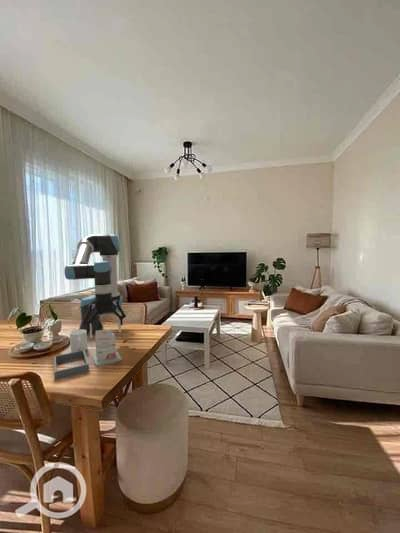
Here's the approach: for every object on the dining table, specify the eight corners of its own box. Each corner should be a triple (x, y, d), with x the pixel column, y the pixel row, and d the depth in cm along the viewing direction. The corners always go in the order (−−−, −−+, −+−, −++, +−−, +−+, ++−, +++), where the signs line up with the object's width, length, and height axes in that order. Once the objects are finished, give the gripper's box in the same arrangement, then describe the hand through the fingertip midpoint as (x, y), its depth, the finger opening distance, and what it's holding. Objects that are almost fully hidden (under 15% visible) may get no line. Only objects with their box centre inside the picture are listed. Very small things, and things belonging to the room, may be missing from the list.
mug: (88, 353, 132) (87, 334, 131) (71, 357, 128) (70, 337, 127) (86, 346, 142) (85, 328, 141) (70, 349, 138) (69, 331, 137)
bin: (54, 363, 122) (54, 356, 121) (84, 356, 128) (84, 349, 128) (54, 380, 106) (54, 372, 105) (89, 371, 112) (88, 364, 112)
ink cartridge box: (116, 354, 128) (115, 326, 127) (114, 359, 123) (112, 329, 122) (99, 355, 127) (97, 327, 126) (96, 360, 122) (94, 330, 121)
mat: (92, 357, 127) (92, 355, 127) (116, 351, 133) (116, 350, 133) (95, 366, 117) (95, 365, 117) (121, 360, 123) (121, 358, 123)
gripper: (75, 297, 113) (78, 342, 115) (130, 291, 125) (132, 331, 128) (74, 294, 119) (77, 336, 122) (127, 288, 132) (128, 327, 134)
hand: (105, 334), depth 125 cm, fingers open, 13 cm apart
